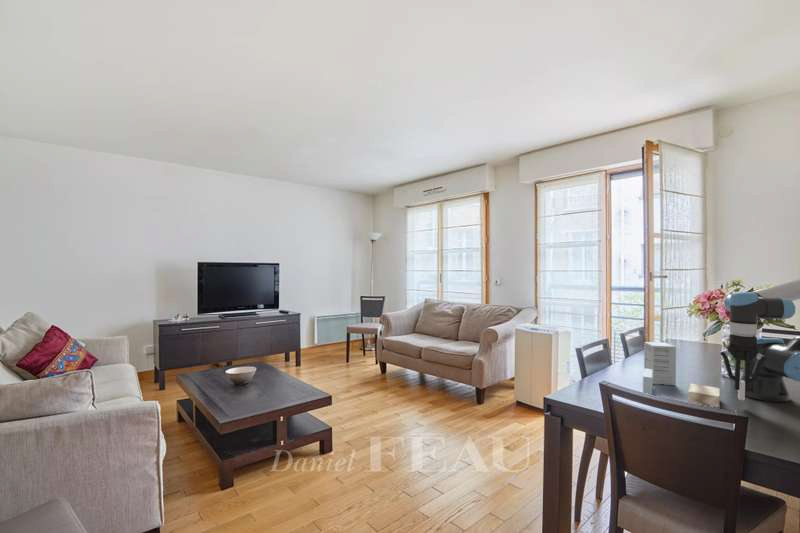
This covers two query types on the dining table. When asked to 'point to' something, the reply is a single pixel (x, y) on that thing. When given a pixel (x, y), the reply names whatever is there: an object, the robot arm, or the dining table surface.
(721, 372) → the dining table surface
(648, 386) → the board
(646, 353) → the supplement box
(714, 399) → the maple block
